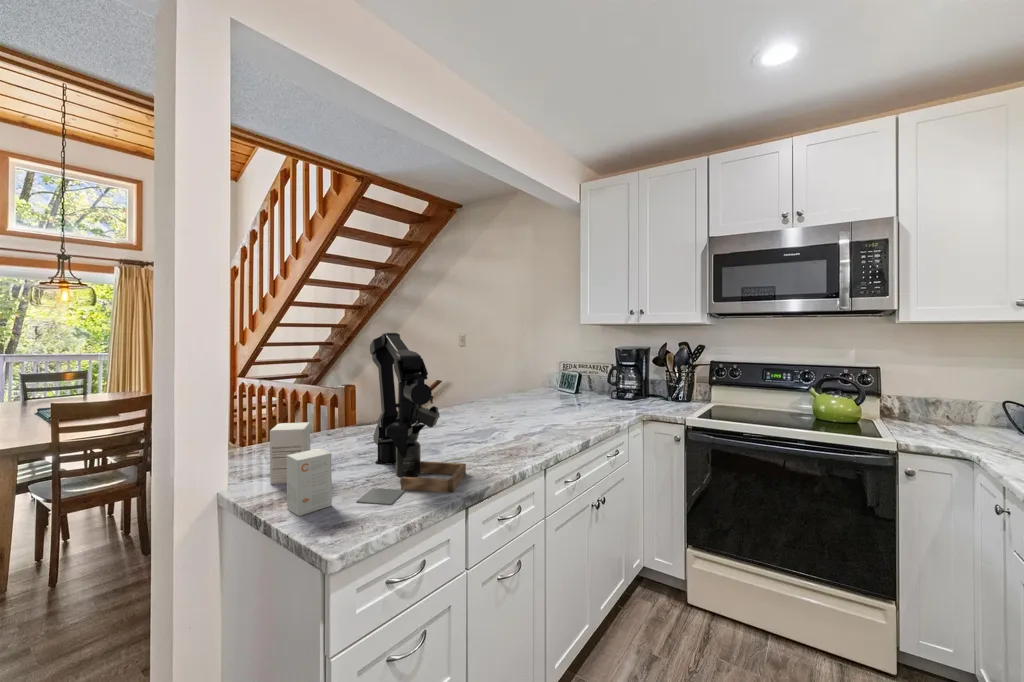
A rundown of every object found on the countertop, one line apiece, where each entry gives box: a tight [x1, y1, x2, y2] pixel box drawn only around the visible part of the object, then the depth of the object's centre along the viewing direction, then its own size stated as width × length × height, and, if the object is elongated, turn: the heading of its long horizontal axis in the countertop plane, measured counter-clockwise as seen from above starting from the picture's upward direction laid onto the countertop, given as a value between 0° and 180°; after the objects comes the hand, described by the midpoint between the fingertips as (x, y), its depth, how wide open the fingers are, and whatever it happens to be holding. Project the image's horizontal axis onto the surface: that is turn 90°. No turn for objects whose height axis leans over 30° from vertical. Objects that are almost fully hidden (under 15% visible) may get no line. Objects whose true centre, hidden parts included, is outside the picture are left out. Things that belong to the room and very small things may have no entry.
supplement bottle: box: [395, 432, 422, 479], centre depth 125 cm, size 7×7×12 cm
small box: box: [286, 448, 333, 517], centre depth 105 cm, size 8×6×13 cm
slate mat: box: [356, 487, 406, 506], centre depth 112 cm, size 9×9×1 cm
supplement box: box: [269, 421, 311, 485], centre depth 125 cm, size 9×9×15 cm
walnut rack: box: [400, 460, 467, 494], centre depth 124 cm, size 14×15×3 cm
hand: (408, 453), depth 125 cm, fingers closed on supplement bottle, 7 cm apart
